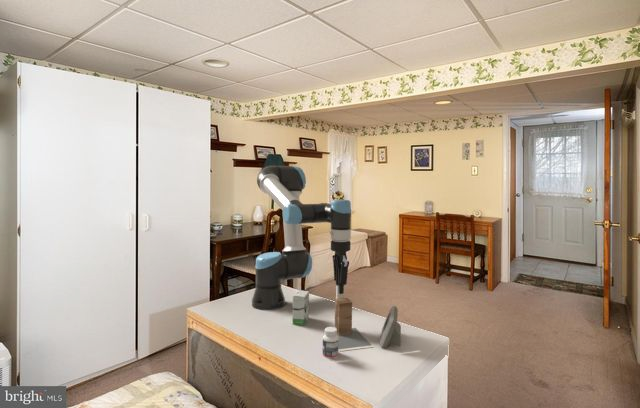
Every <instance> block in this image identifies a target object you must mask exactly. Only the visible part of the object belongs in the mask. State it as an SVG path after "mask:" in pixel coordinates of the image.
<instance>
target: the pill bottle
mask: <svg viewBox="0 0 640 408" xmlns="http://www.w3.org/2000/svg"><path fill="white" fill-rule="evenodd" d="M338 344H339V337H338V335H337V329H336V328H335V326H327V327H326V328H324V334H323V336H322V356H323V357H324V358H326V359H336V358H338V357H339V356H340V355H339V352H340V351H339V349H338Z"/></svg>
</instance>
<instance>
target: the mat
mask: <svg viewBox="0 0 640 408" xmlns="http://www.w3.org/2000/svg"><path fill="white" fill-rule="evenodd" d="M337 335H338V334H337ZM338 337H339V344H338V352H348V351H350V352H351V351H356V350H357V351H358V350H365V349H373V348H374V346H373V345H372V344H371V343H370V341H368V340H367V338H366V337H365V336H364V335H363V334H362V333H361V332H360V331H359V330H358V328H356V327H352V334H348V335H338Z"/></svg>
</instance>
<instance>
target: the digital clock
mask: <svg viewBox="0 0 640 408" xmlns="http://www.w3.org/2000/svg"><path fill="white" fill-rule="evenodd" d="M398 309H399V308H398V307H397V306H396V305H391V306H390V309H389V310H388V314H387V316H386V318H385V321H384V323H383V326H382V328H381V332H380V340H379V347H380V348H381V349H387V348H388V346H396V347H401V337H402V336H401V335H402V327H401V324H400V323H398V314H399V313H398V312H399V310H398Z"/></svg>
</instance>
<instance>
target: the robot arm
mask: <svg viewBox="0 0 640 408" xmlns="http://www.w3.org/2000/svg"><path fill="white" fill-rule="evenodd" d="M256 184H257V187H258V188H259V189H260V191H261V192H263V193H264V194H267V195H268V196H269V197H270V198H271V200H273V201H274V203H275V204H276V205H277V206H278V207H279V208H280V209H281V210H282V220H283V221H282V224H283V233H284V234H283V235H284V248H283V249H282V250H281V251H282V252H280V251H273V252H272V251H270V252H265V253H262V254H261V253H260V254H259V255H258V256H257V257H256V258H255V265H254V267H255V288H254V293H253V296H252V298H251V306H252V307H253V308H255V309H258V310H266V311H268V310H270V311H271V310H277V309H280V308H282V307H284V306H285V304H286V298H285V295H284V292H283V289H282V281H285V280H286V281H287V280H294V279H301V278H305V277H308V275H310V274H311V271H312V268H313V257H312V255H311V254H310V253H309V252H307V248H306V247H305V246H304V244H303V243H304V242H303V228H302V224H303V225H305V224H313V223H314V224H316V223H317V224H318V223H319V224H321V223H329V224H330V231H329V235H330V239H331V241H330V251H333V252H334V255H333V254H332V264H333V280H334V281H335V291H336V292H335V293H336V294H335V295H336V296H335V299H342V298H345V285H347V283H348V274H349V267H350V261H349V260H348V257H347V252H349V251H351V240H352V236H351V234H352V228H351V225H352V205H351V201H350V200H349V199H332V200H331V203H327V202H319V203H302V202H301V201H300V196H301V195H302V194H303V190H304V189H305V187H306V184H307V180H306V174H305V172H304V170H303V169H302V168H301V167H299V166H295V165H294V166H293V165H269V166H265V167H264V168H263V169H261V170H260V171H259V172H258V174H257V178H256Z"/></svg>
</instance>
